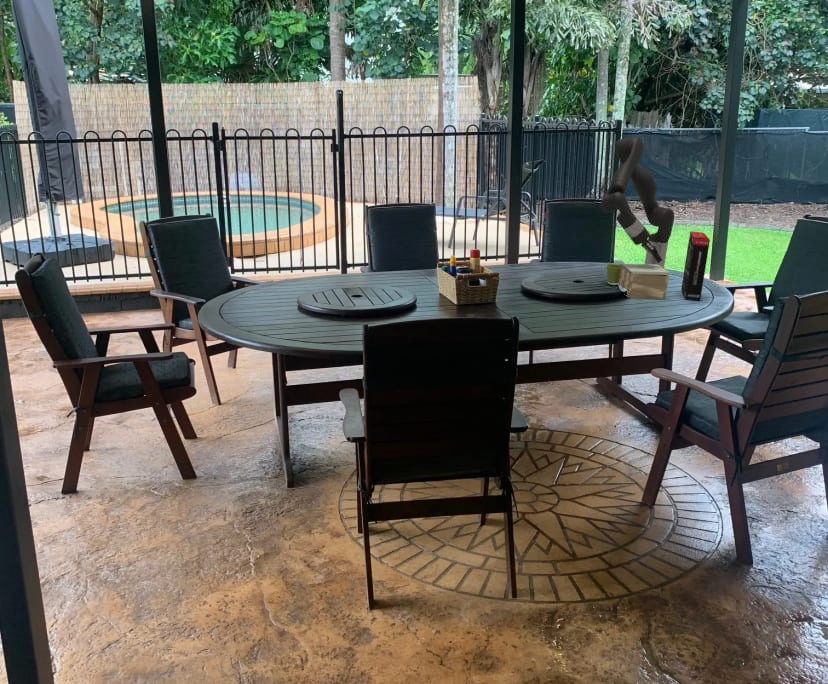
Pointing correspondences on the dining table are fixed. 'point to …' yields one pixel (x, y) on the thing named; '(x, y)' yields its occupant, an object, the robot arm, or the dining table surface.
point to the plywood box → (644, 285)
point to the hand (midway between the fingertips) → (660, 261)
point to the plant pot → (613, 273)
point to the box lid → (644, 269)
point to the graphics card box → (695, 265)
